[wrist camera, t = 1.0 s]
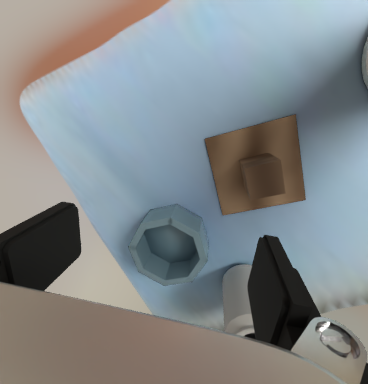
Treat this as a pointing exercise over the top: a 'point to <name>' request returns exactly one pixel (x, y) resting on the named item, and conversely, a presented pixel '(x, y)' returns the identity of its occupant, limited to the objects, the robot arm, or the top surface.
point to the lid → (257, 166)
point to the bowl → (170, 245)
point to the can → (237, 302)
